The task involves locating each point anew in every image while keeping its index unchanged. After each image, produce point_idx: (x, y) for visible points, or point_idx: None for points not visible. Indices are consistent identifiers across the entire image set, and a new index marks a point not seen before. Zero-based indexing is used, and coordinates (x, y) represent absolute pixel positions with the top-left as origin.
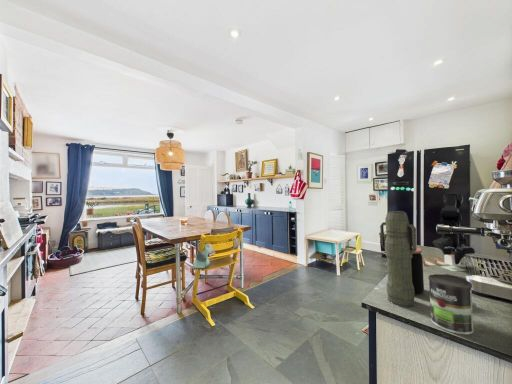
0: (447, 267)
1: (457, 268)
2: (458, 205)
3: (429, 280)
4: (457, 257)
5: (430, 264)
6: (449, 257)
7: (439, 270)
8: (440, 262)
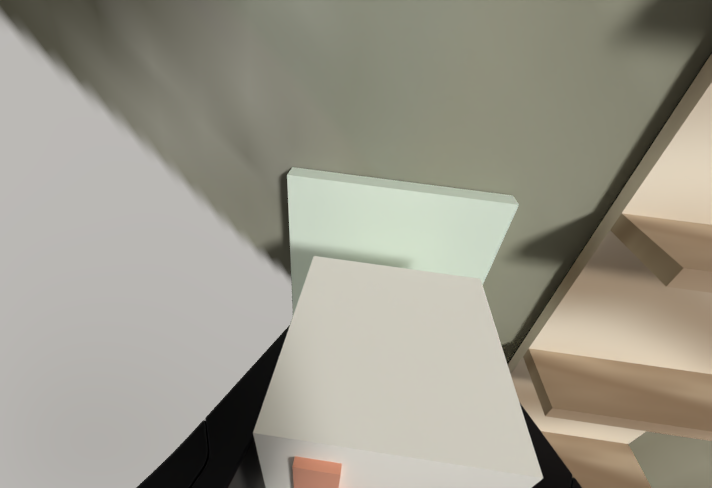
0: (434, 247)
1: None
2: None
3: None
4: (174, 466)
5: (709, 145)
6: (347, 407)
7: (415, 20)
8: (620, 346)
